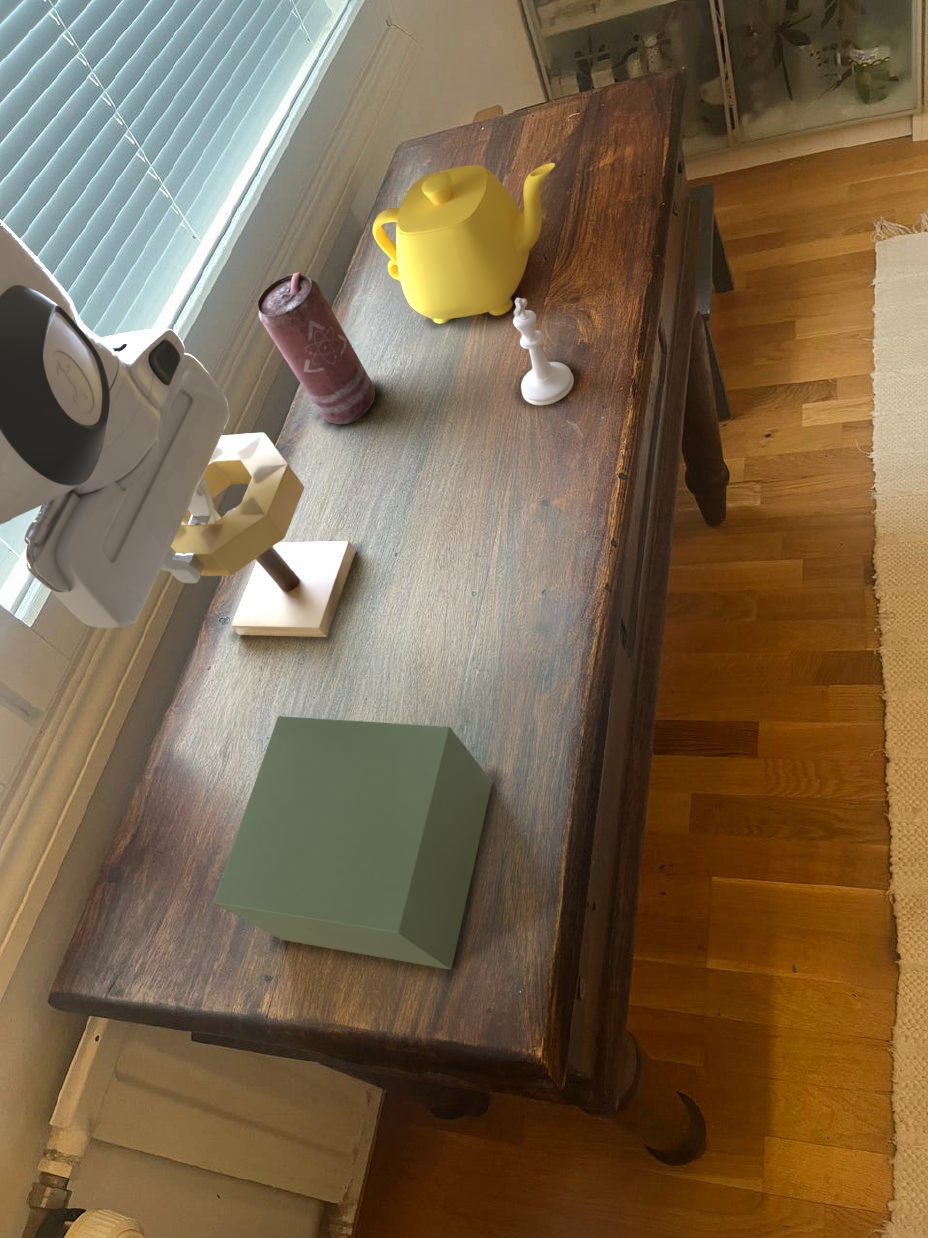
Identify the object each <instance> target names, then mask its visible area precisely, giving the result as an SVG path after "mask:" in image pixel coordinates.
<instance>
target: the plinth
mask: <svg viewBox="0 0 928 1238" xmlns="http://www.w3.org/2000/svg"><path fill="white" fill-rule="evenodd" d="M492 786H493V781H492V779H491V778H490V777H489V776H488V774H487V773H486V772H485V770H484V769H483V767H481V765H480V764H479V762H478V761H477V760H476V759H475V757H474V756H473V755H472V753H471V752H470V751H469V749H468V748H467V747H466V746H465V744H464V743H463V742H462V740H461V739H460V738H459V737H458V735H457V734H456V732H455V731H454V730H453V728H452V727H451V726H446V725H444V726H443V725H430V724H428V725H427V724H413V723H401V722H400V723H398V722H384V721H383V722H382V721H365V720H354V719H353V720H352V719H335V718H323V717H322V718H320V717H307V716H306V717H305V716H293V715H291V716H289V715H278V716H277V718H276V721H275V724H274V727H273V729H272V731H271V735H270V738H269V741H268V744H267V747H266V749H265V752H264V755H263V757H262V761H261V764H260V767H259V770H258V773H257V776H256V778H255V781H254V784H253V787H252V790H251V793H250V795H249V798H248V801H247V804H246V807H245V810H244V812H243V816H242V818H241V821H240V824H239V827H238V830H237V832H236V835H235V839H234V841H233V844H232V847H231V850H230V853H229V855H228V858H227V861H226V864H225V867H224V870H223V873H222V875H221V878H220V881H219V884H218V887H217V890H216V893H215V896H214V899H213V901H212V903H213V904H214V905H216V906H218V907H219V908H222V909H224V910H226V911H228V912H230V913H231V914H232V915H235V916H236V917H239V918H241V919H243V920H244V921H246V922H248V923H250V924H251V925H254V926H255V927H257V928H259V929H261V930H262V931H265V932H266V933H269V934H270V935H271V936H274V937H276V938H278V939H279V940H282V941H286V942H293V943H297V944H304V945H310V946H316V947H320V948H325V949H331V950H338V951H342V952H343V951H344V952H348V953H354V954H360V955H365V956H372V957H377V958H383V959H389V960H394V961H400V962H405V963H411V964H417V965H421V966H427V967H434V968H438V969H445V970H452V969H453V964H454V961H455V960H454V959H455V955H456V951H457V946H458V941H459V937H460V931H461V928H462V922H463V919H464V914H465V909H466V905H467V900H468V896H469V891H470V887H471V881H472V876H473V872H474V868H475V863H476V858H477V854H478V850H479V849H478V848H479V845H480V841H481V836H482V831H483V827H484V822H485V818H486V812H487V808H488V803H489V798H490V794H491V789H492Z"/></svg>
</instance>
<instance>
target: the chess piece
mask: <svg viewBox="0 0 928 1238" xmlns="http://www.w3.org/2000/svg"><path fill="white" fill-rule="evenodd" d="M514 304H515V309H514V310H513V316H514V317H513V319H512V320H513V321H512V323H513V325H514V327H515V328H516V329H517V330H518V332H520V334H521V337H520V339H519V344H520V346H521V348H523V349H524V350H528V351H529V356H530V361H531V366H532V368H530V370H529V371H528V372H527V373H525V375H524V377H523V378H522V380H521V384H520V387H521V388H520V389H521V394H522V395H521V396H522V397H523V399H524V400H525V401H526V402H527V403H529V404H531V405H535V406H546V405H551V404H554V403H556V402H559V401H560V400H562V399H563V398H564V397H566V396H567V395H568V394H569V393H570V391H571V390H572V388H573V386H574V381H575V379H574V374H573V373H572V371H571V369H570V368H569V367H568V366H567V365H566V364H565V363H562V362H560V361H549V360H548V358H547V356H546V355H545V353H544V351H543V348H542V347H541V344H543V341H544V338H545V337H544V334H543V333H542V331H540V330H537V327H536V326H537V325H536V324H537V315H536V313H535V312H534V311H533V310H530V309H525V308H526V307H527V305H528V299H527V298H521V297H516V298H515V300H514Z"/></svg>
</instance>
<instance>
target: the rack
mask: <svg viewBox="0 0 928 1238" xmlns="http://www.w3.org/2000/svg"><path fill="white" fill-rule="evenodd" d="M235 508H236V507H234V508H232V509H230V510H228V511H227V513H229V512H230V511H232V510H233V509H235ZM355 554H356V549H355V548H354V546H353V545H352V543H351V542H350V541H349V540H339V541H338V540H336V541H335V540H333V541H293V542H291V541H289V542H287V541H286V542H285V541H284V542H278V543H277V544H275V545H274V546H273V547H271V548H270V549H268V550H267V551H266V552H264V553H263V554H261V555H260V556H259V557H257V558H256V559H255V564H254V567H253V569H252V572H251V574H250V576H249V579H248V582H247V584H246V587H245V589H244V592H243V594H242V596H241V599H240V602H239V605H238V607H237V610H236V612H235V614H234V616H233V619H232V622H231V624H230V628H232V629H233V630H234V631H235V632H236V634H238V635H240V636H269V637H270V636H276V637H309V638H311V637H312V638H313V637H314V638H315V637H316V638H328V635H329V631H330V629H331V625H332V622H333V620H334V616H335V614H336V611H337V609H338V605H339V602H340V599H341V596H342V593H343V590H344V587H345V584H346V581H347V578H348V576H349V572H350V570H351V567H352V563H353V560H354V558H355Z"/></svg>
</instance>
